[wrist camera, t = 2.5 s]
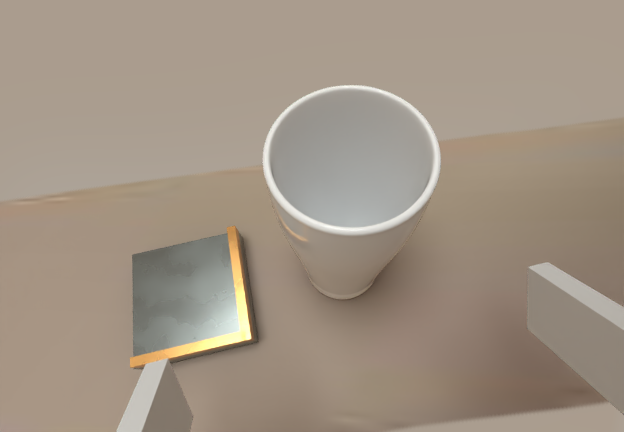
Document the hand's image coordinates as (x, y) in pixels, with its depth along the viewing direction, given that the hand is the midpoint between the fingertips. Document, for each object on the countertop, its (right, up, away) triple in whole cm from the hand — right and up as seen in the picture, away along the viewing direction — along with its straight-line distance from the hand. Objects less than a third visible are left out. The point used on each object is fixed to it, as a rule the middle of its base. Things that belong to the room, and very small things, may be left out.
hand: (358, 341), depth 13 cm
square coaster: (-10, -2, +14) cm, 17 cm away
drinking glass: (+1, +1, +14) cm, 14 cm away
